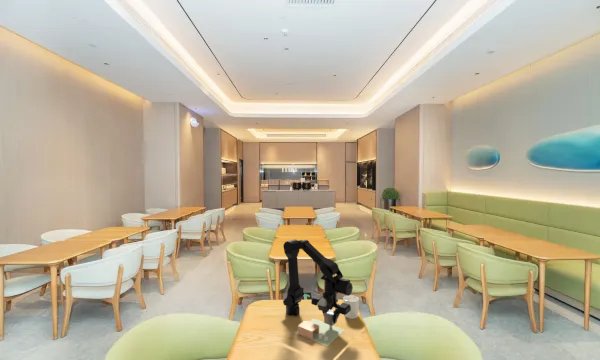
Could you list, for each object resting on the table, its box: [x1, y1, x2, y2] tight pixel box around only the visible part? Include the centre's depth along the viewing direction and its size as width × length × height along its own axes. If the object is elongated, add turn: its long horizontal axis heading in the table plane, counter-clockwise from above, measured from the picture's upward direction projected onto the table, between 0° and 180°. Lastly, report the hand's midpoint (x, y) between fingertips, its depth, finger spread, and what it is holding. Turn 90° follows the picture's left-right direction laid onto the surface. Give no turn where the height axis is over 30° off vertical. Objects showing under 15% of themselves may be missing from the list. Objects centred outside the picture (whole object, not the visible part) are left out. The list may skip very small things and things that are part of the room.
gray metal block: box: [323, 309, 335, 326], centre depth 141 cm, size 4×4×5 cm
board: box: [294, 317, 346, 347], centre depth 139 cm, size 18×16×4 cm
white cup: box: [342, 294, 360, 320], centre depth 154 cm, size 8×8×10 cm
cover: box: [297, 320, 319, 340], centre depth 137 cm, size 8×6×4 cm
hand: (330, 321), depth 141 cm, fingers closed on gray metal block, 4 cm apart
